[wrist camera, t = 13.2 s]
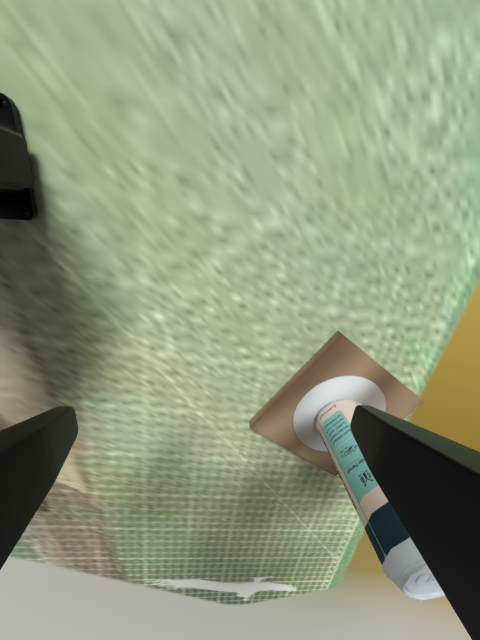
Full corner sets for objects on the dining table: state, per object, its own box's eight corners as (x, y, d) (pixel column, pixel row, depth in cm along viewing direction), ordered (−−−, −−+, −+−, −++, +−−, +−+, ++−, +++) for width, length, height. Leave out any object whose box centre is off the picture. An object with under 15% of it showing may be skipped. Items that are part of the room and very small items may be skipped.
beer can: (354, 435, 26) (459, 601, 15) (308, 434, 25) (382, 607, 14) (369, 396, 24) (500, 551, 13) (320, 393, 24) (414, 555, 12)
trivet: (249, 420, 25) (251, 430, 24) (338, 330, 23) (344, 336, 21) (331, 467, 29) (336, 477, 28) (416, 395, 26) (425, 403, 25)
